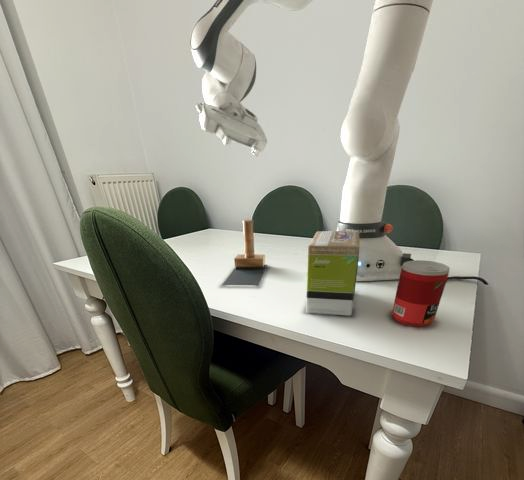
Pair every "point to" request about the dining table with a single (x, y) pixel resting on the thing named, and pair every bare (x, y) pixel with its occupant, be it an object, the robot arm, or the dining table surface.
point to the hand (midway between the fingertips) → (242, 148)
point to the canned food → (419, 292)
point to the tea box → (332, 272)
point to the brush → (249, 251)
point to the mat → (244, 277)
